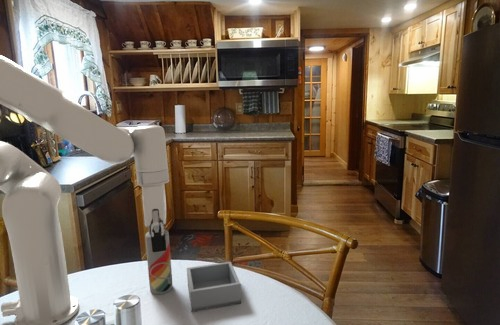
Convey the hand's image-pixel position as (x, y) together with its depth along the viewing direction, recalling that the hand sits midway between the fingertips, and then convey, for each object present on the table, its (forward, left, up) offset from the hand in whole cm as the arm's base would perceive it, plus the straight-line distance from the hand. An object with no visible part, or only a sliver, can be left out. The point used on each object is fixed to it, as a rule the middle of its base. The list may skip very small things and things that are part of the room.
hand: (159, 242), depth 84 cm
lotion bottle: (0, 0, -13) cm, 13 cm away
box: (+12, -7, -12) cm, 18 cm away
